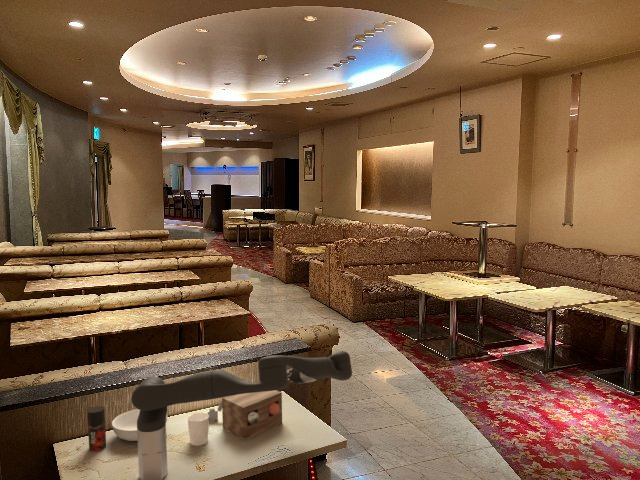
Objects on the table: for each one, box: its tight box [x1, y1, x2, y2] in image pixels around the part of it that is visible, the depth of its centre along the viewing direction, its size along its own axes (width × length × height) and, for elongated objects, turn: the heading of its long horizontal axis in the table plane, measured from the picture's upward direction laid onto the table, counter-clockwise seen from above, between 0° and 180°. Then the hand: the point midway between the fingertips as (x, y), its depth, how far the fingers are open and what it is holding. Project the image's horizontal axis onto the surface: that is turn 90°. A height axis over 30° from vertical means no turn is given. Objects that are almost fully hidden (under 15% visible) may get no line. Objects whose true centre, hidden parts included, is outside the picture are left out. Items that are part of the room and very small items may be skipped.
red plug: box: [269, 402, 280, 415], centre depth 203 cm, size 10×4×4 cm, turn 47°
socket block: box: [221, 390, 283, 441], centre depth 202 cm, size 14×20×13 cm
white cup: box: [187, 411, 210, 447], centre depth 189 cm, size 8×8×10 cm
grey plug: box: [247, 411, 259, 424], centre depth 196 cm, size 10×4×4 cm, turn 47°
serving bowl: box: [111, 408, 168, 442], centre depth 195 cm, size 21×21×7 cm
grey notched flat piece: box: [206, 399, 222, 422], centre depth 207 cm, size 7×2×8 cm, turn 106°
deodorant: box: [86, 405, 107, 453], centre depth 185 cm, size 6×6×15 cm
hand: (271, 379), depth 199 cm, fingers closed
